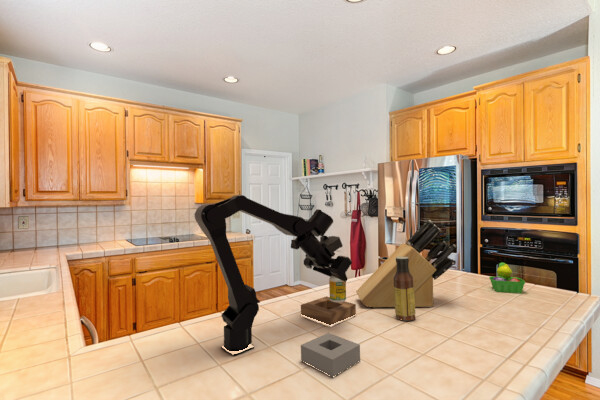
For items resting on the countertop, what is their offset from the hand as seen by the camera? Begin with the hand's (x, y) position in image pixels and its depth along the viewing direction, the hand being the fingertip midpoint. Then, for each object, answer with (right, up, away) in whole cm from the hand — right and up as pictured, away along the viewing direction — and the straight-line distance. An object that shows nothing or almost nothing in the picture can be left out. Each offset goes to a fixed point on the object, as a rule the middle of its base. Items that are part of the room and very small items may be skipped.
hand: (340, 278), depth 102 cm
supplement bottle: (-1, -7, -1) cm, 7 cm away
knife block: (+26, -13, +15) cm, 33 cm away
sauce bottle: (+21, -13, 0) cm, 25 cm away
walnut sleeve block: (-4, -13, +3) cm, 14 cm away
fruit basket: (+73, -13, +29) cm, 80 cm away
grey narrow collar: (-6, -13, -27) cm, 30 cm away
